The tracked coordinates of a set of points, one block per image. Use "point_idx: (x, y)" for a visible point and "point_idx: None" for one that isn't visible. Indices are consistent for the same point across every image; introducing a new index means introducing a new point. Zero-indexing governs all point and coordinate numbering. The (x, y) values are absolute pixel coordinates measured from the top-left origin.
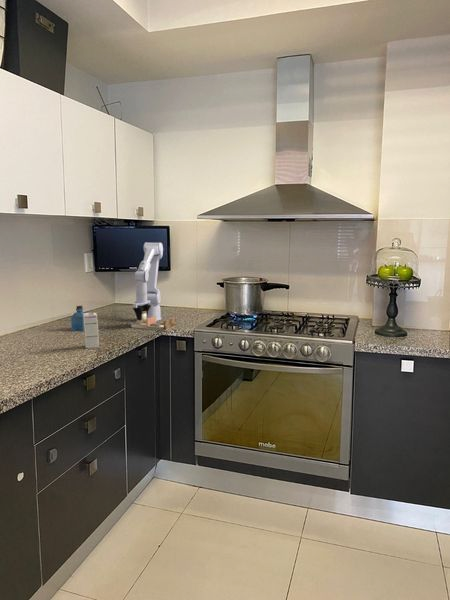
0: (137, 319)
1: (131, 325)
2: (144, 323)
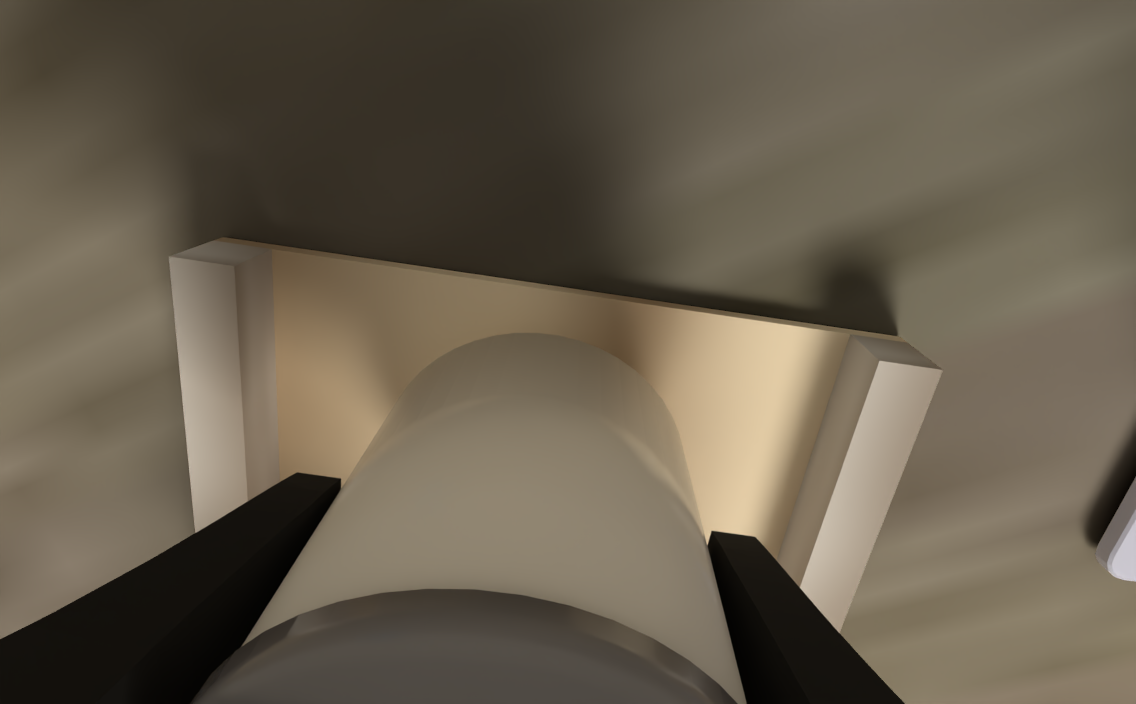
0: (279, 490)
1: (181, 259)
2: (809, 410)
